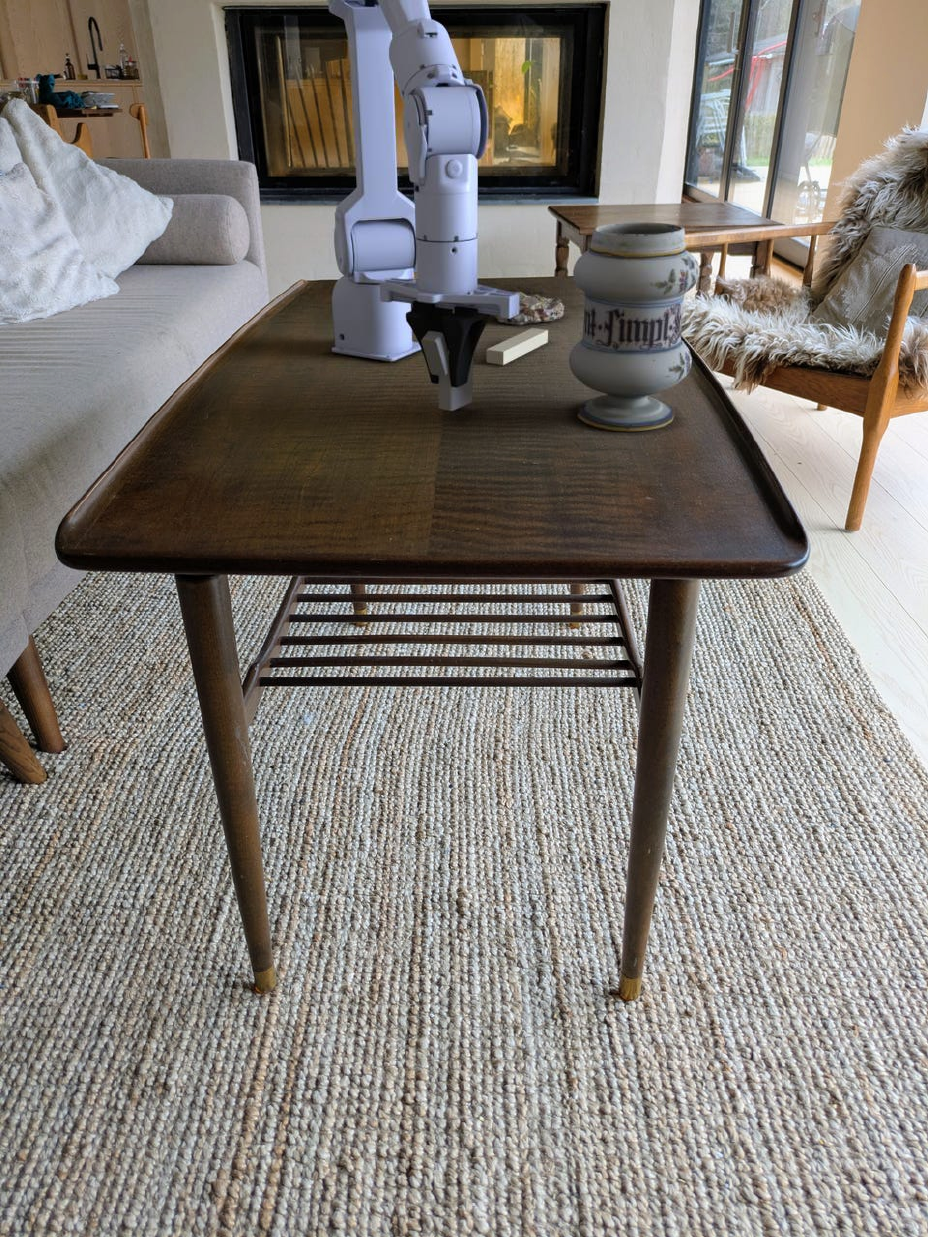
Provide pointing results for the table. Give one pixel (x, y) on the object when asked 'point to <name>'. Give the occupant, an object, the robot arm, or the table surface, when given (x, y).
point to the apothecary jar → (632, 323)
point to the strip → (516, 346)
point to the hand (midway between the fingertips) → (449, 382)
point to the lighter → (445, 373)
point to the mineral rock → (535, 310)
